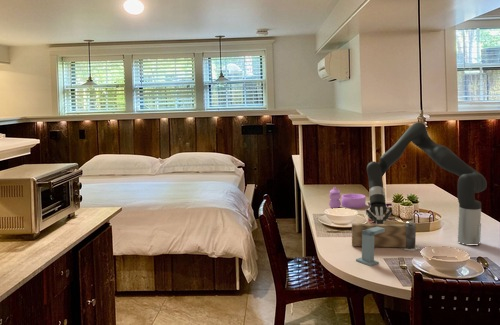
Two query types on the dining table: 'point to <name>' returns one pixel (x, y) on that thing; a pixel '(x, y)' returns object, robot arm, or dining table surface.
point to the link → (387, 235)
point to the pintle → (415, 245)
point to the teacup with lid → (372, 220)
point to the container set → (346, 199)
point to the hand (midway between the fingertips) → (380, 227)
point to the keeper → (369, 245)
